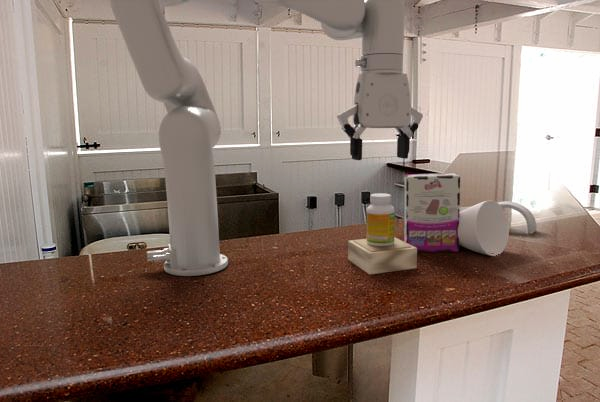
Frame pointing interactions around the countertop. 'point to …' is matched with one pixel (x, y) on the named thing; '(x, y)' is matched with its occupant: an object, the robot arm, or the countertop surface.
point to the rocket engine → (484, 228)
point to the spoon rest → (523, 210)
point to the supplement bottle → (380, 220)
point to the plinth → (382, 256)
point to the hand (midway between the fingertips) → (379, 158)
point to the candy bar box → (432, 211)
